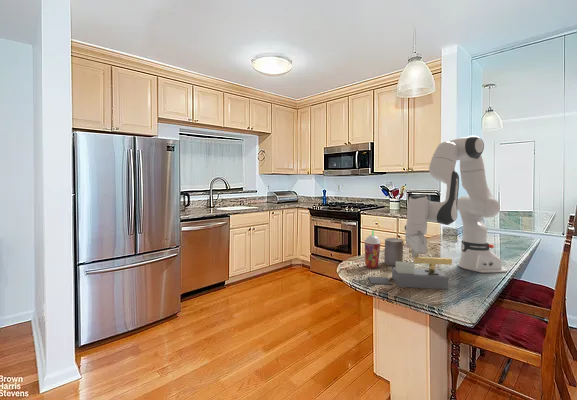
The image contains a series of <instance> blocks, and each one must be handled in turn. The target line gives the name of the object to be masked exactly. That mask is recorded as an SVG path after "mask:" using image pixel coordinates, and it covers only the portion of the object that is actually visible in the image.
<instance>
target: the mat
mask: <svg viewBox="0 0 577 400" xmlns="http://www.w3.org/2000/svg"><path fill="white" fill-rule="evenodd" d="M367 278H368V280H369V282H370V284H371V285H381V284H384V285H383V286H392V283H391V281H390V279H389V278H388V277H384V276H382V277H381V276H368V277H367Z"/></svg>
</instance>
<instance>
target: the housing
mask: <svg viewBox="0 0 577 400" xmlns="http://www.w3.org/2000/svg"><path fill="white" fill-rule="evenodd" d="M391 267H392V270H391V272H392V273H391V278H392V279H393V281H394V283H395V284H396V285H397V287H398V286H399V288H400V287H401V288H417V289H418V288H419V289H434V290H435V289H436V290H437V289H440V290H449V280H450V277H449V276H447V275H446V274H444V273H443V272H442V271H441V270H440V269H436V268H435V273H429V268H418V267H417V268H415V267H414V274H406V273H398V272H397V271H396V270H395V266H391Z"/></svg>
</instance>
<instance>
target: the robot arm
mask: <svg viewBox="0 0 577 400" xmlns="http://www.w3.org/2000/svg"><path fill="white" fill-rule="evenodd" d="M484 149H485V144H484V140H483V139H482V138H481V137H479V136H477V135H469V136H463V137H458V138H455V139H451V140H446V141H443V142H441V143H439V144H438V145H437V147H436V149H435V150H434V153H433V155H432V157H431V160H430V162H429V163H430V164H429V167H428V171H429V174H430V176H431V177H433V179H435V180H437V181H438V182H440V183H441V182H442V183H443V184H445V185H446V190H445V191H446V192H445V199H444V200H443V201H442V202H441V201H432V200H429V199H428V195H426V194H423V193H420V194H419V193H417V194H412V195H410V196H409V198H408V201H407V208H406V210H407V211H406V214H407V220H406V224H405V225H404V231H405V234H404V236H405V239H404V240H405V243H406V245H407V246H408V247H409V248H411V249H410V251H411V257H412V260H413V259H414V257H419V255H420V254H421V255H426V254H427V249H428V245H427V244H428V243H427V242H428V240H427V237H426V236H425V235H427V232H428V231H427V230H428V222H429V223H430V222H431V223H438V224H441V225H445V226H449V225H451V224H452V223H454V222H455V221H456V220H457V218H458V212H459V214H460V217H461V222H462V240H461V243H460V250H461V252H460V257H459V260H458V263H457V266H458V267H460V268H461V269H465V270H469V271H474V272H478V273H507V272H508V270H507V268H506V267H504V266H503V264H502V263H503V262H502V259H501V258H500V257H499V256H498V255H497V254H495V253H494V252H493V251H492V250H491V249H494V248H495V245H494V244H492V243H488V242H487V240H488V239H487V238H488V227H487V226H486V225H485V222H484V219H485V218H494V217H496V216H497V215H498V214H499V213H500V209H501V205H500V202H499V201H498V200H497V199H496V198H495V197H494V196H493V194H492V193H491V191H490V188H489V186H488V184H487V176H486V170H485V164H484V158H483V156H482V154H483V152H484ZM458 161H459V172H460V173H458V172H457V171H456V170H455V167H456V163H457V162H458ZM459 175H460V176H459ZM460 181H461V186H462V188H463V189H464V190H465V192H466V193H467V194H465V195H462V196H460V197H459V191H460V190H459V188H460ZM483 218H484V219H483ZM506 271H507V272H506Z"/></svg>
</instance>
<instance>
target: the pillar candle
mask: <svg viewBox="0 0 577 400" xmlns="http://www.w3.org/2000/svg"><path fill="white" fill-rule="evenodd" d="M383 255H384V256H383V257H384V258H383V260H384V261H383V262H384V264H385V265H387V266H390V267H395V266H396V261H400V262H404V259H403V258H404V257H403V255H404V240H403V239H401V238H397V237H395V236H394V237H388V238H385V239H384V254H383Z"/></svg>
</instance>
